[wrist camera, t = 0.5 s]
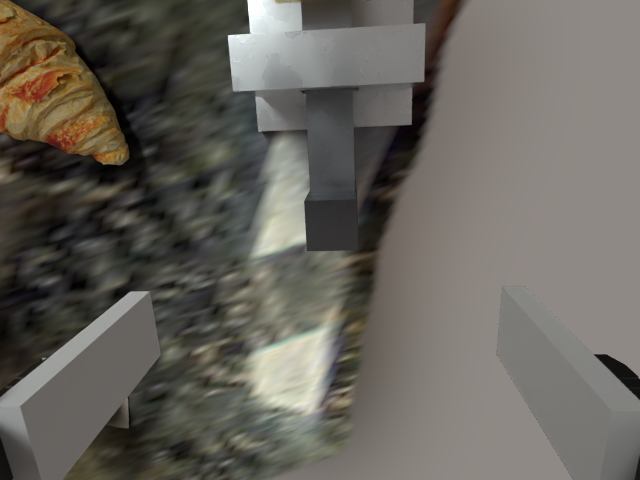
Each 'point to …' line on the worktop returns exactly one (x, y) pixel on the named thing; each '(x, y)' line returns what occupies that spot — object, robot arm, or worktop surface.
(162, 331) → the worktop surface
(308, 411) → the worktop surface
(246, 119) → the worktop surface
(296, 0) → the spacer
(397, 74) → the frame
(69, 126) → the croissant
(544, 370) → the robot arm
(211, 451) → the worktop surface
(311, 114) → the bar
